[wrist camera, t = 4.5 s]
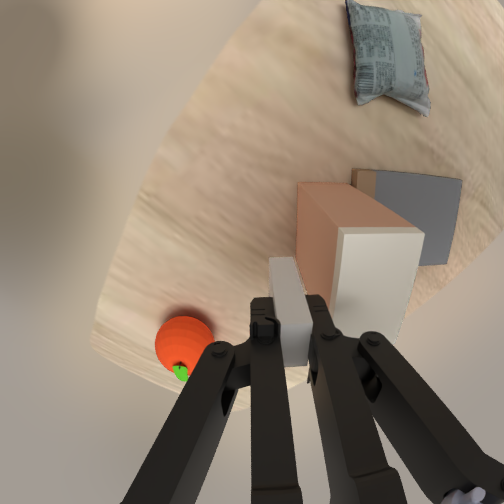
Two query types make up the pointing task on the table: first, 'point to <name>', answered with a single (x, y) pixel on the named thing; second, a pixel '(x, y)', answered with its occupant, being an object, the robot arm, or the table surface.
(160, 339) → the clementine
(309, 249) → the terracotta block
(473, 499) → the robot arm
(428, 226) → the mat
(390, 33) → the packaged food
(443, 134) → the table surface
